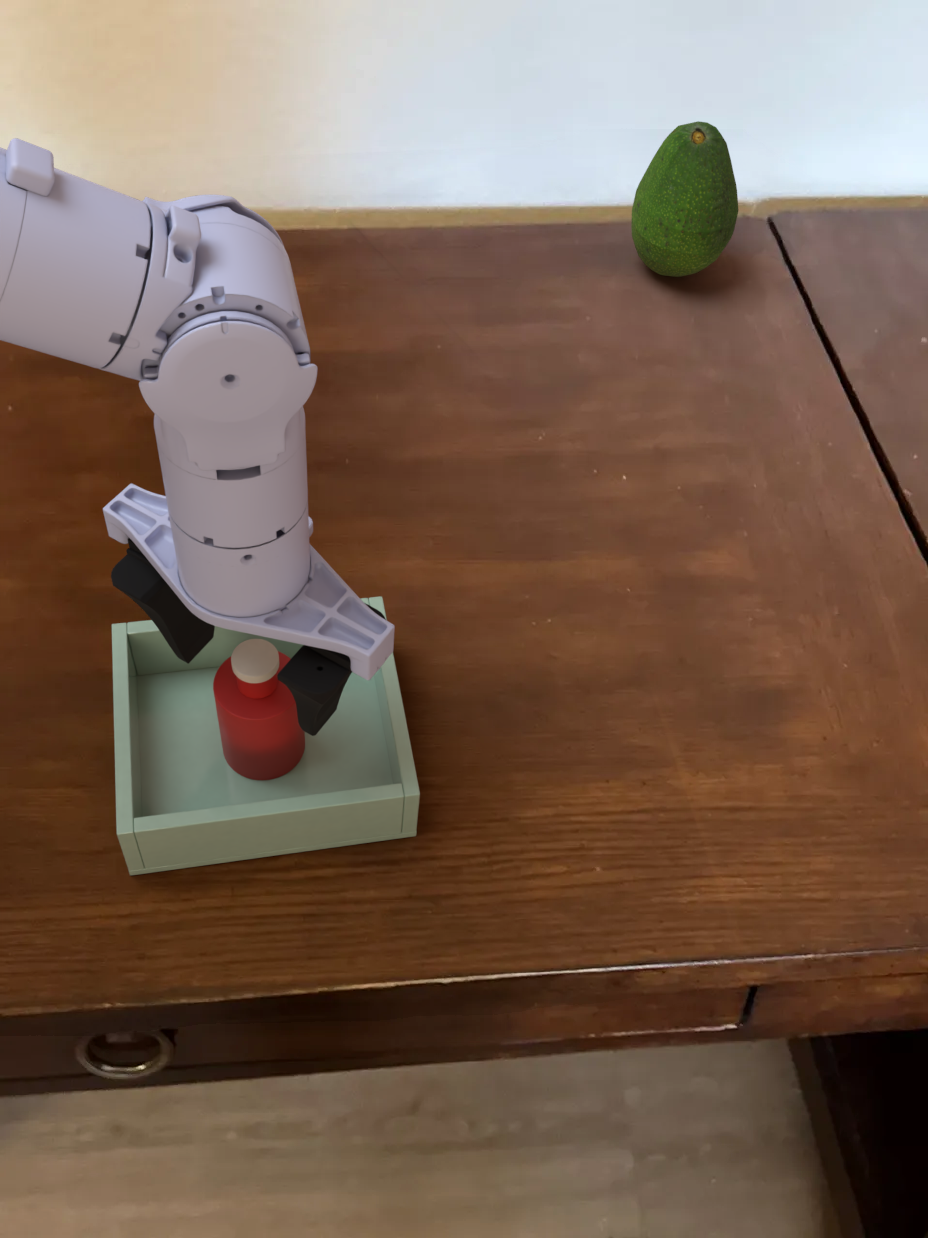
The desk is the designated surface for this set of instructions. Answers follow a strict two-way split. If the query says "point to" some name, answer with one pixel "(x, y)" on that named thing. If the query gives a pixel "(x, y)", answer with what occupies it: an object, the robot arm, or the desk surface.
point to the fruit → (685, 202)
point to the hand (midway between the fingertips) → (256, 682)
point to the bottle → (257, 712)
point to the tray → (230, 803)
